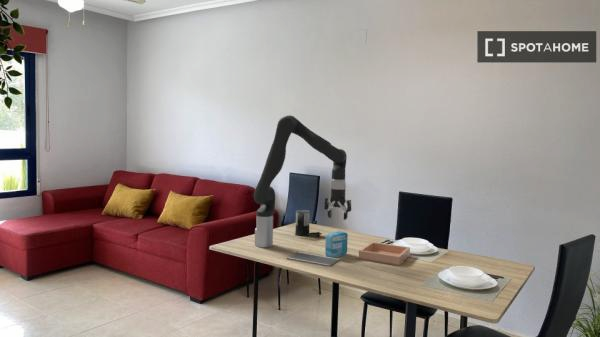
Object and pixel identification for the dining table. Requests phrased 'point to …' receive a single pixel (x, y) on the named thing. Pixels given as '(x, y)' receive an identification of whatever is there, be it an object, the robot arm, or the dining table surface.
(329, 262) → the mat
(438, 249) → the dining table surface
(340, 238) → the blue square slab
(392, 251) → the planter saucer
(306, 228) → the milk frother
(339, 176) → the robot arm
